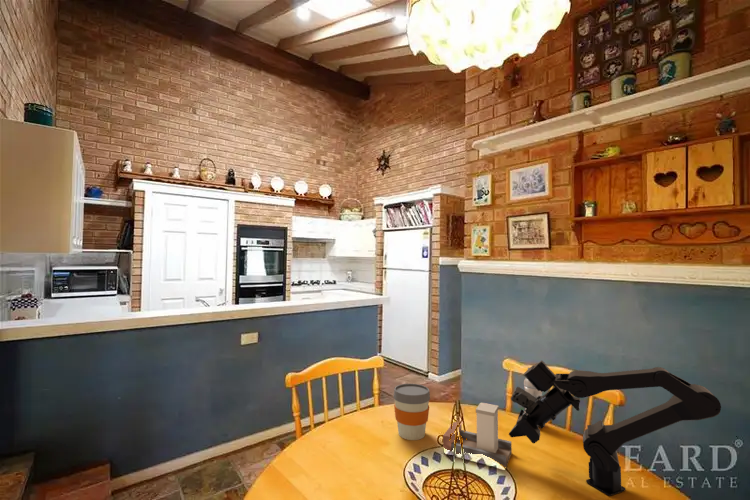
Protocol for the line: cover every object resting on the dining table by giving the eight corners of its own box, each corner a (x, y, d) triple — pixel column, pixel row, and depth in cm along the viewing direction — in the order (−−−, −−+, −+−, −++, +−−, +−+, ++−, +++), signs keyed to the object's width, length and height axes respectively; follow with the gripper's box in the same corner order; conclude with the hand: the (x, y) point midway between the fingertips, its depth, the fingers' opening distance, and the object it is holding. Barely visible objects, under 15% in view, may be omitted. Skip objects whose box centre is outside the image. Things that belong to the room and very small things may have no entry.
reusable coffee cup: (430, 444, 115) (430, 396, 116) (391, 441, 117) (391, 394, 118) (430, 427, 127) (430, 384, 128) (395, 424, 129) (395, 382, 130)
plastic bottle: (532, 429, 126) (532, 372, 127) (520, 421, 132) (519, 367, 133) (548, 427, 128) (547, 370, 129) (534, 419, 134) (534, 365, 135)
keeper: (498, 447, 109) (498, 405, 110) (494, 457, 104) (494, 412, 105) (481, 443, 112) (480, 402, 113) (476, 452, 107) (475, 409, 107)
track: (511, 453, 110) (511, 434, 110) (505, 470, 100) (505, 450, 100) (454, 438, 119) (454, 421, 119) (443, 453, 109) (443, 435, 109)
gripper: (532, 372, 111) (496, 401, 116) (524, 389, 95) (482, 423, 100) (561, 403, 107) (522, 432, 112) (558, 426, 91) (512, 459, 96)
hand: (510, 435), depth 105 cm, fingers closed
